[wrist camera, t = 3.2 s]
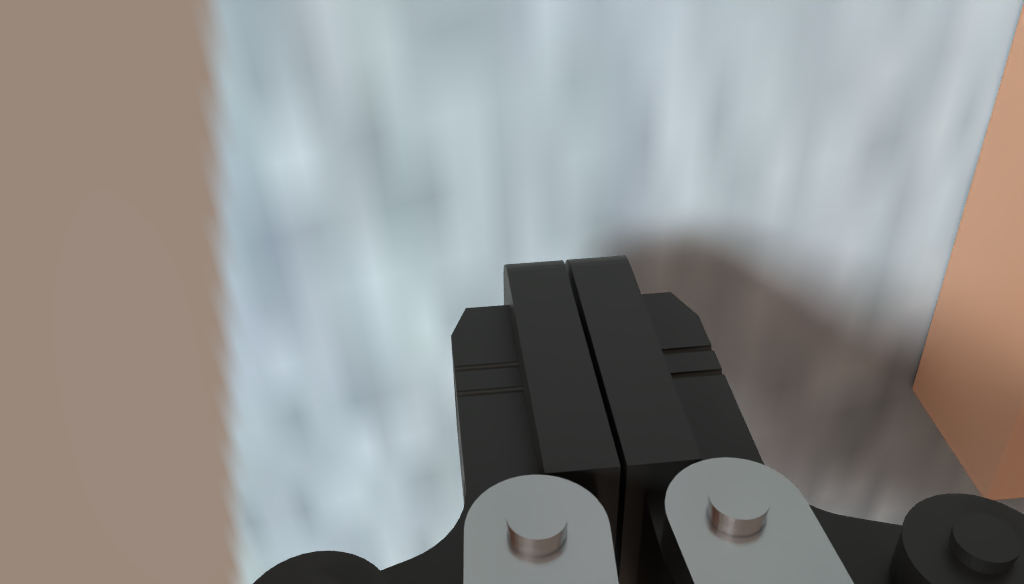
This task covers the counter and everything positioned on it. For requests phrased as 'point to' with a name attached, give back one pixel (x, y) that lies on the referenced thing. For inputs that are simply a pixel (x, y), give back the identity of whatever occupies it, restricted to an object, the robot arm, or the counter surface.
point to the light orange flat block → (985, 308)
